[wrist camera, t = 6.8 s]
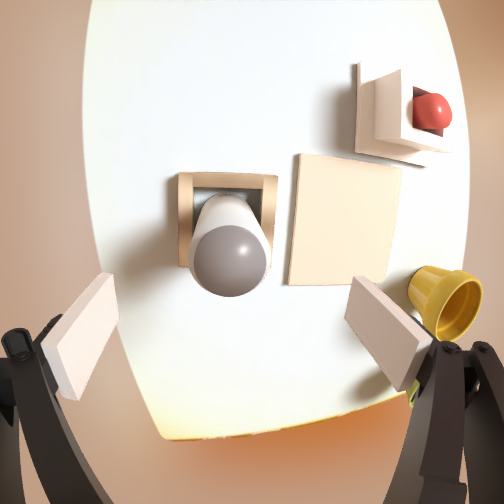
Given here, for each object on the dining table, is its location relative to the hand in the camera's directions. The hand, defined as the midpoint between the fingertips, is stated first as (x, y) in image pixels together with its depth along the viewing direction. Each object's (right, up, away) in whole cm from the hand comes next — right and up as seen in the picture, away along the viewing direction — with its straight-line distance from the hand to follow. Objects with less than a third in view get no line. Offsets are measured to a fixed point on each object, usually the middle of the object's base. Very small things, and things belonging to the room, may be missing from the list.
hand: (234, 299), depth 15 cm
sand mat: (+13, +6, +20) cm, 24 cm away
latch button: (+20, +19, +12) cm, 30 cm away
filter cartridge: (-2, +6, +18) cm, 19 cm away
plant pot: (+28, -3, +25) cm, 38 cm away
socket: (-2, +6, +18) cm, 19 cm away
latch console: (+20, +20, +16) cm, 32 cm away
